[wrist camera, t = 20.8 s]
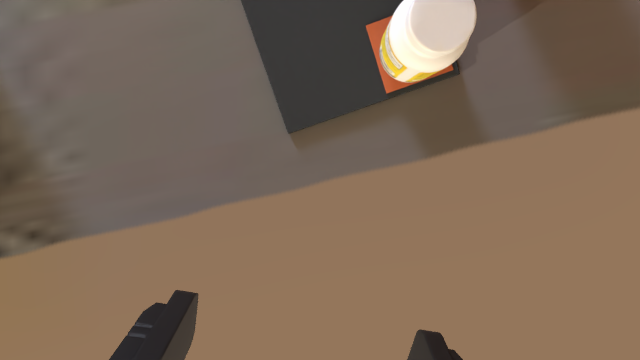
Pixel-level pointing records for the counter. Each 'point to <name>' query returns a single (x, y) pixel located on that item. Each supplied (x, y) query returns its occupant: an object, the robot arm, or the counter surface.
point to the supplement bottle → (426, 37)
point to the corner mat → (326, 56)
